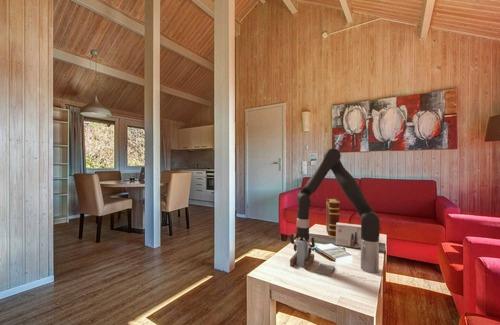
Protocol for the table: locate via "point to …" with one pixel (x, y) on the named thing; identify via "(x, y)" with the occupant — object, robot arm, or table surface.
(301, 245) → the block
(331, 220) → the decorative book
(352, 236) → the skincare box
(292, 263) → the frame
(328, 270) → the pad
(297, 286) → the table surface
